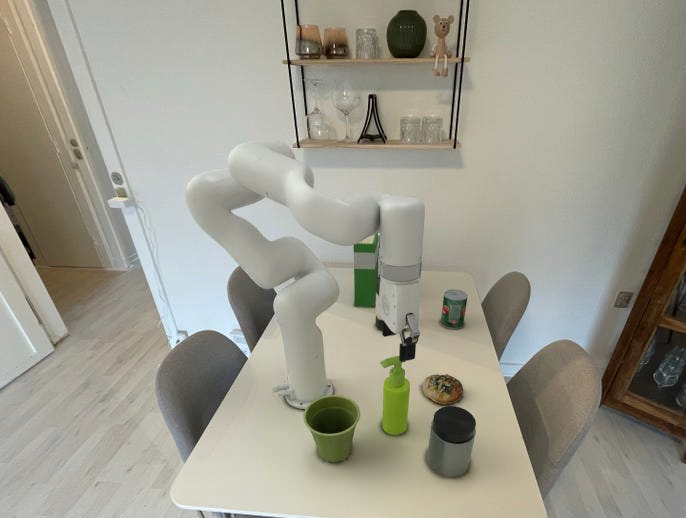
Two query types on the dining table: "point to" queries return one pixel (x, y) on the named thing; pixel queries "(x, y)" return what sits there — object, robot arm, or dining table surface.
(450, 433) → the grey and black cylinder
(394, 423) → the soap dispenser
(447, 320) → the canned tomato
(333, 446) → the plant pot
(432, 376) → the bread roll
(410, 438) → the dining table surface
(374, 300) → the hardback book
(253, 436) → the dining table surface
